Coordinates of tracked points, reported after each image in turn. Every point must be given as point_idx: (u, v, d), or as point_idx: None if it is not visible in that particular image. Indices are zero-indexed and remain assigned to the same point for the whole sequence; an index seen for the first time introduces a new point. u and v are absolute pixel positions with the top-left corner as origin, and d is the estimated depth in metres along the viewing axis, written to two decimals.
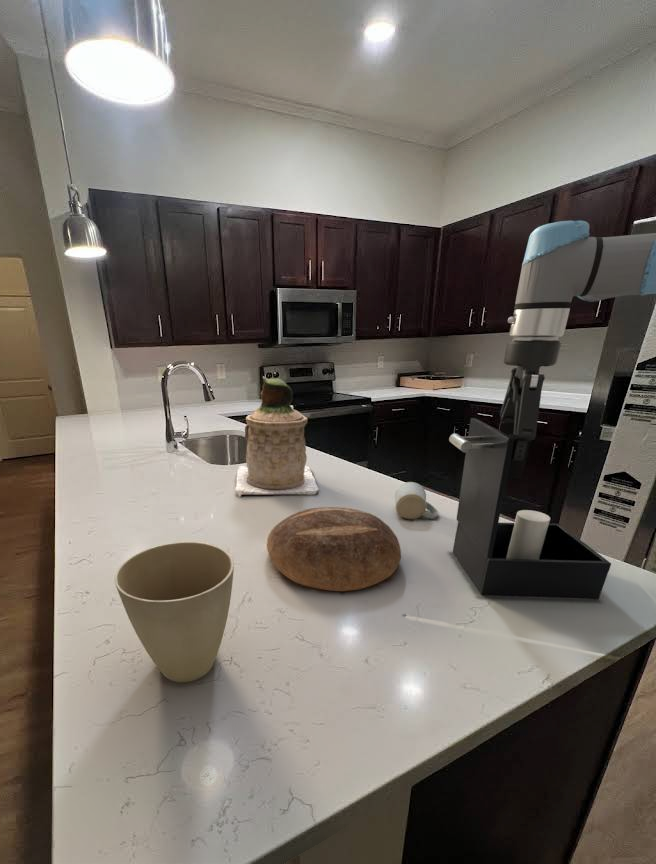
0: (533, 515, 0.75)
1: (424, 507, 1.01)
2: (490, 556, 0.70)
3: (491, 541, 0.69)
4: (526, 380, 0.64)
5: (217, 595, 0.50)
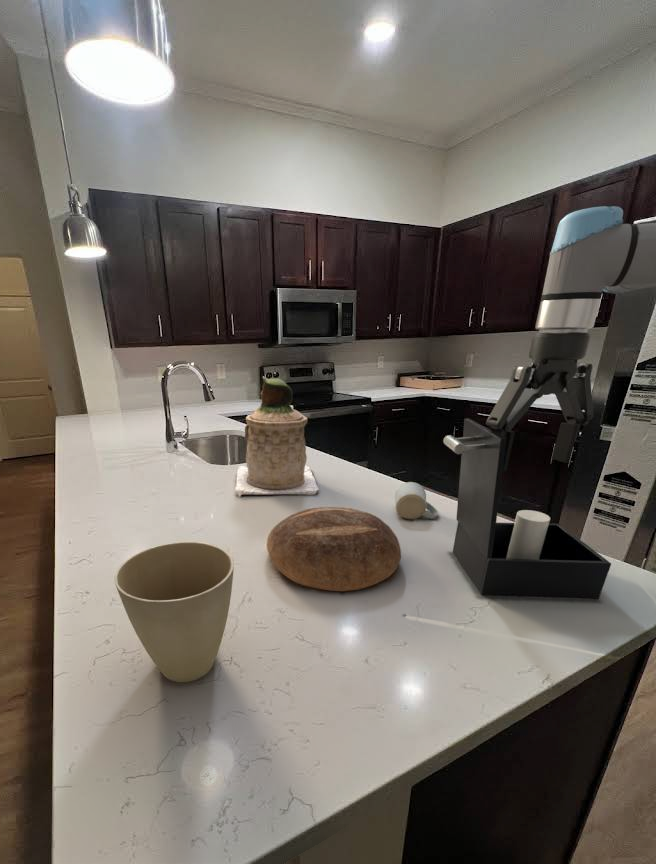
0: (533, 515, 0.75)
1: (424, 507, 1.01)
2: (490, 556, 0.70)
3: (490, 541, 0.69)
4: (513, 371, 0.66)
5: (217, 595, 0.50)
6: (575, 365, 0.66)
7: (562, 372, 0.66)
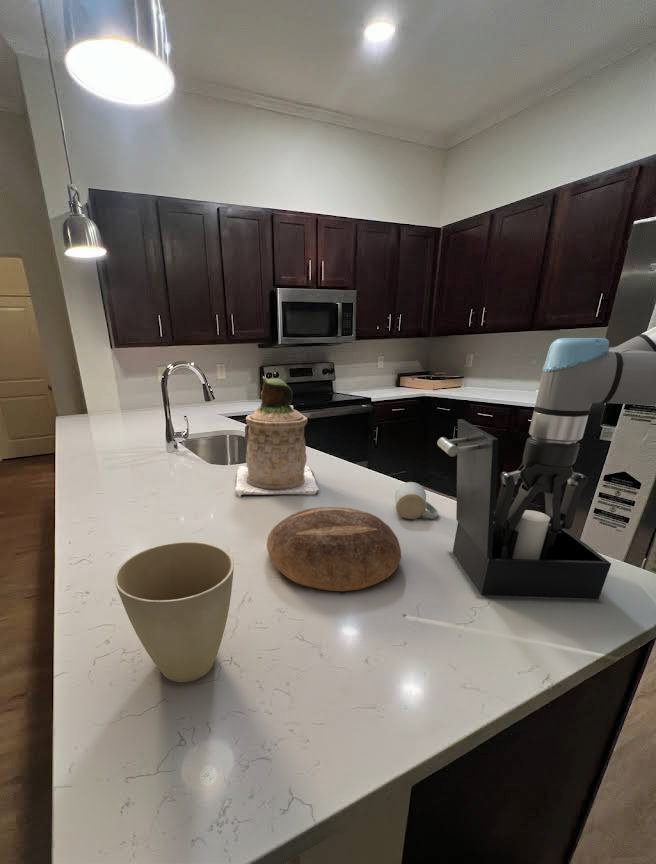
0: (533, 515, 0.75)
1: (424, 507, 1.01)
2: (490, 556, 0.70)
3: (489, 541, 0.69)
4: (501, 477, 0.73)
5: (217, 595, 0.50)
6: (571, 470, 0.70)
7: (555, 469, 0.70)
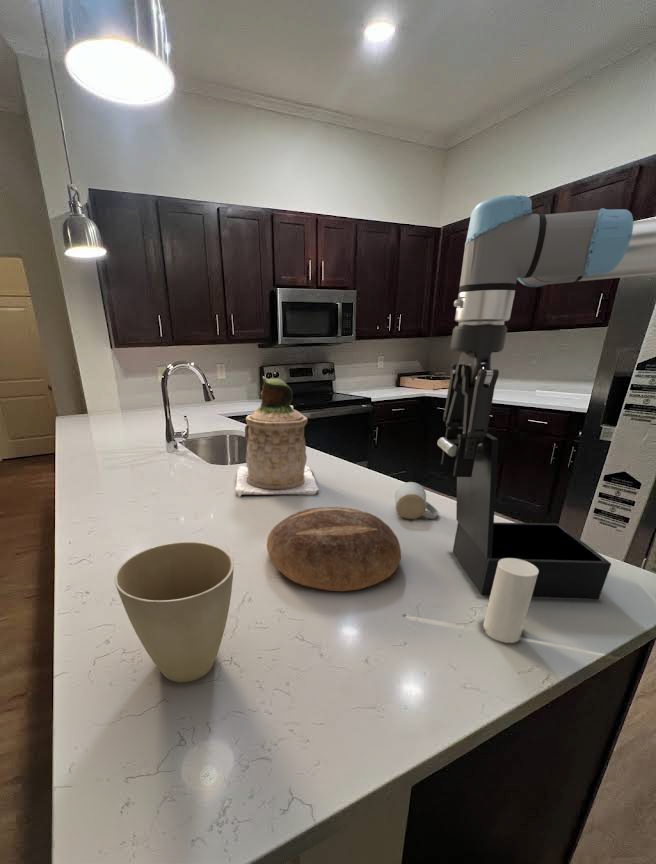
0: (518, 566, 0.60)
1: (424, 507, 1.01)
2: (490, 556, 0.70)
3: (489, 541, 0.69)
4: (481, 377, 0.60)
5: (217, 595, 0.50)
6: None
7: None
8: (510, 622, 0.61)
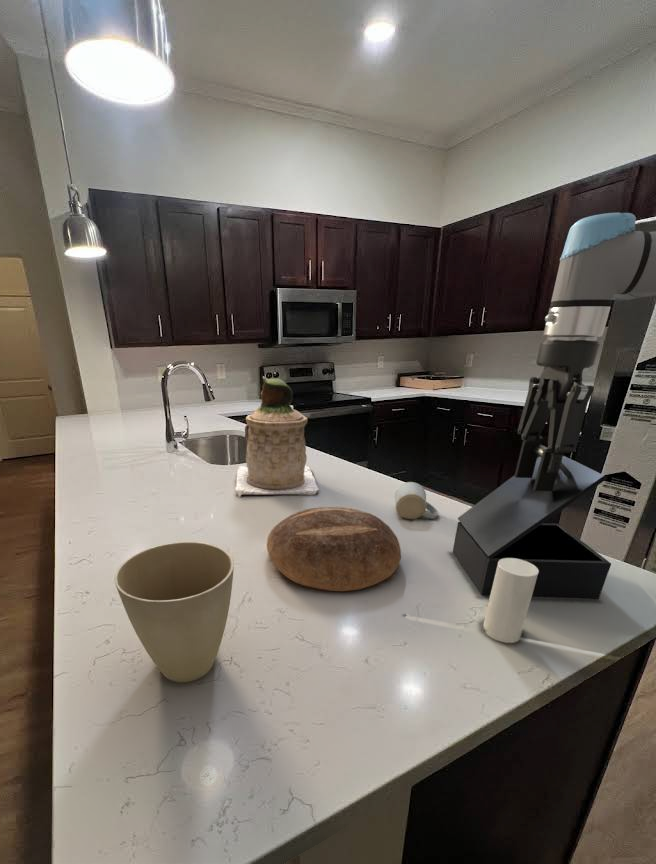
0: (518, 566, 0.60)
1: (424, 507, 1.01)
2: (491, 557, 0.70)
3: (505, 545, 0.69)
4: (575, 393, 0.60)
5: (217, 595, 0.50)
6: None
7: None
8: (510, 622, 0.61)
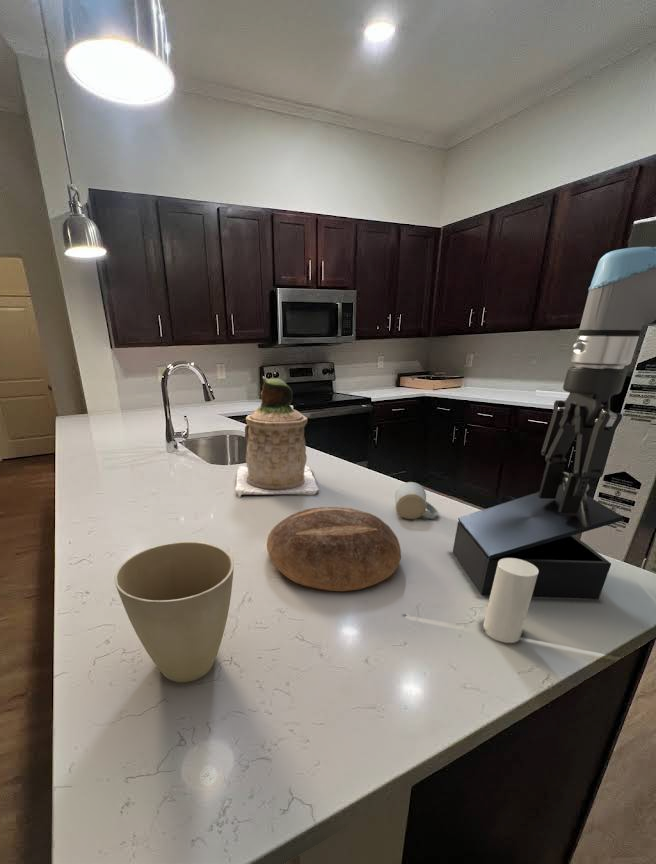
0: (518, 566, 0.60)
1: (424, 507, 1.01)
2: (491, 558, 0.70)
3: (509, 551, 0.69)
4: (604, 421, 0.61)
5: (217, 595, 0.50)
6: None
7: None
8: (510, 622, 0.61)
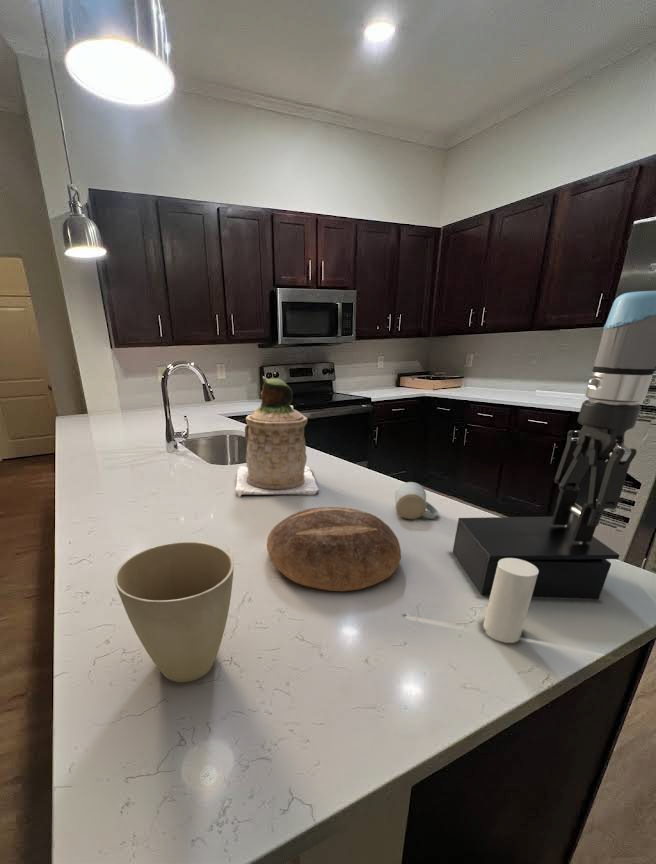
0: (518, 566, 0.60)
1: (424, 507, 1.01)
2: (491, 558, 0.70)
3: (509, 557, 0.70)
4: (618, 456, 0.63)
5: (217, 595, 0.50)
6: None
7: None
8: (510, 622, 0.61)
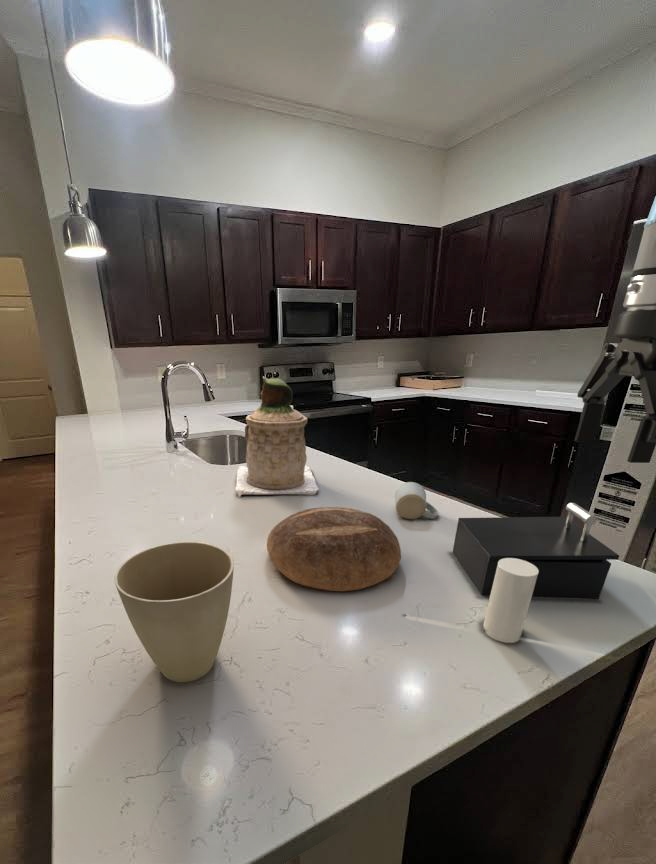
0: (518, 566, 0.60)
1: (424, 507, 1.01)
2: (491, 558, 0.70)
3: (509, 557, 0.70)
4: None
5: (217, 595, 0.50)
6: None
7: None
8: (510, 622, 0.61)
